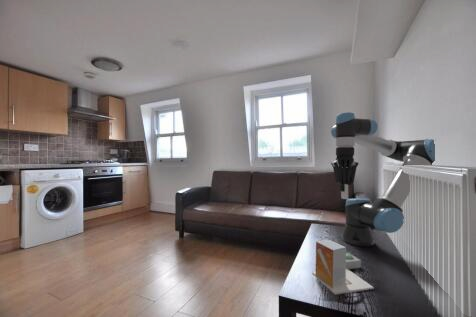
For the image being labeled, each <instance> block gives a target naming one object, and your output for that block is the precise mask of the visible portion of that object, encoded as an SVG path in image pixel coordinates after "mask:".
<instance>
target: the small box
mask: <svg viewBox="0 0 476 317" xmlns="http://www.w3.org/2000/svg"><path fill="white" fill-rule="evenodd" d="M346 253H347V247H346V246H344V245H342V244H339V243H337V242H335V241H333V240H330V239H322V240H318V241H315V271H316V276H315V278H317V277H318V278H319V279H321V280H322V281H324V282H325V283H326V284H328V285H329V286H331V287H332V288H336V287H339V286H342V285H345V284H346ZM318 278H317V279H318ZM319 279H318V280H319Z"/></svg>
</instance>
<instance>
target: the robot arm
mask: <svg viewBox="0 0 476 317" xmlns="http://www.w3.org/2000/svg"><path fill="white" fill-rule="evenodd" d="M378 128H379V126H378V123H377V121H376V120H375V119H370V118H357V117H356V116H355V113H354V112H351V111H348V112H341V113H337V115H336V118H335V125H333V127H331V131H330V134H331V136H332V138H334V139H335V147H336V148H335V156H336V158H335V160H334V161H331V162H330V165H331V166H332V168H333V174H334V178H335V183H337V184H339V191H340V193H341V194H340V195H341V196H340V197H341V199H343V200H346V201H345V206H344V207H345V226H344V229H343V232H342V234H341V239H342V241H343V242H345V243H347V244H349V245H352V246H357V247H366V248H367V247H372V246H374V245H375V239H374V236H373V233H372V231H371V228H372V229H375V230H377V231H380V232H382V233H383V232H384V233H388V234H391V233H396V232H398V231H399V230H400V229H401V228H402V227H403V224H404V222H405V221H404V220H405V216H404V213H403V212H404V210H403V208H402V206H403V205H404V202H405V201H406V200H407V198H408V197H409V195H410V193H411V192H410V180H409V175H408V174H406V173H404V172H403V171H402V168H401V167H400V168H399V170H398V171H397V172H396V174H395V175H394V178H393V179H392V180H391V182H390V183H389V185H388V186H387V187H386V189H385V191H384V193H383V194H382V195H381V196H379V197H376V198H375V200H374V201H373V203H372V201H371V199H370V198H349V192H350V186H351V185H352V184H354V182H355V176H356V171H357V169H358V168H357V167H358V165H359V162H357V161H355V158H354V156H355V148H354V146H355V144H356V145H360V146H363V147H365V148H368V149H370V150H373V151H376V152H378V153H380V155H382V156H384V157H386V158H388V159H392V160H395V161H398V162H402V165H401V166H404V165H431V166H432V165H433V164H434V163H433V162H434V161H435V144H434V140H433V139H434V138H429V139H428V138H425V139H420V140H419V139H417V140H405V141H404V140H400V141H398V140H397V141H396V140H393V139H385V138H382V137H381V136H378V135H376V132H377V130H378ZM432 163H433V164H432ZM409 192H410V193H409Z"/></svg>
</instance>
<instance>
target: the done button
mask: <svg viewBox="0 0 476 317" xmlns="http://www.w3.org/2000/svg"><path fill="white" fill-rule="evenodd" d="M347 253H348V252H346V260H349V259H352V255H353V254H351V253H350V254H351V255H350V254H347Z"/></svg>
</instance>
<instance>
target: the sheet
mask: <svg viewBox="0 0 476 317" xmlns="http://www.w3.org/2000/svg"><path fill="white" fill-rule="evenodd" d="M312 274H313V276H314V277H316V270H315V271H312ZM316 279H318V280H319V281H320V283H322V284H323V285H324V286H325V287H326V288H327V289H328V290H329V291H330V292H331V293H333V295H342V294H347V293H356V292H361V291H369V289H370V290H375V288H374V286H373V285H371V284H369V283H368V282H367V281H365V279H363V278H361V277H359V275H357V274H355V273H354V272H353V271H351V269H347V268H346V284H345V285H342V286H339V287H336V288H332V287H331V286H329V285H328V284H326V283H325V282H324V281H322V280H321V279H319V278H318V277H316Z"/></svg>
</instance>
